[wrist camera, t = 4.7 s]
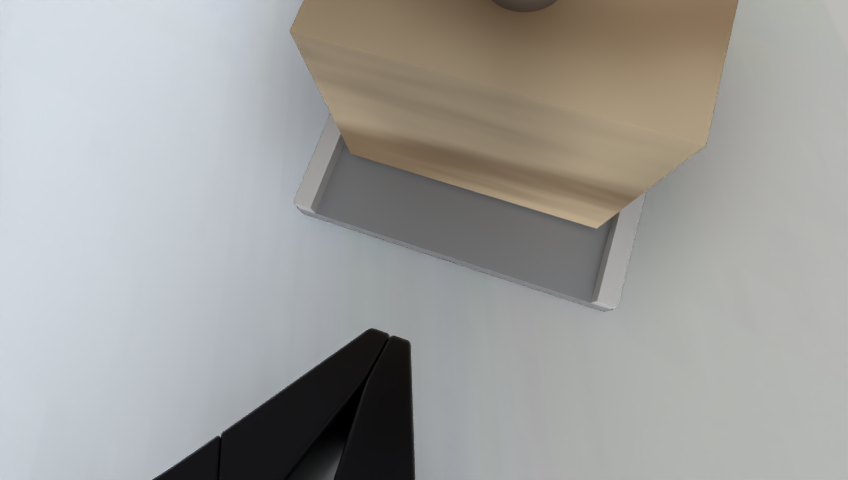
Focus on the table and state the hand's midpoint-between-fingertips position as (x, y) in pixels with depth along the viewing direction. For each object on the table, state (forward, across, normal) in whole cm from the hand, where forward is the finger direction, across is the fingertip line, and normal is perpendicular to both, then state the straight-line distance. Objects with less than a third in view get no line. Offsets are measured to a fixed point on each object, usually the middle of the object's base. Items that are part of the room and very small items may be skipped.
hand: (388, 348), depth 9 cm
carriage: (+13, 0, 0) cm, 13 cm away
